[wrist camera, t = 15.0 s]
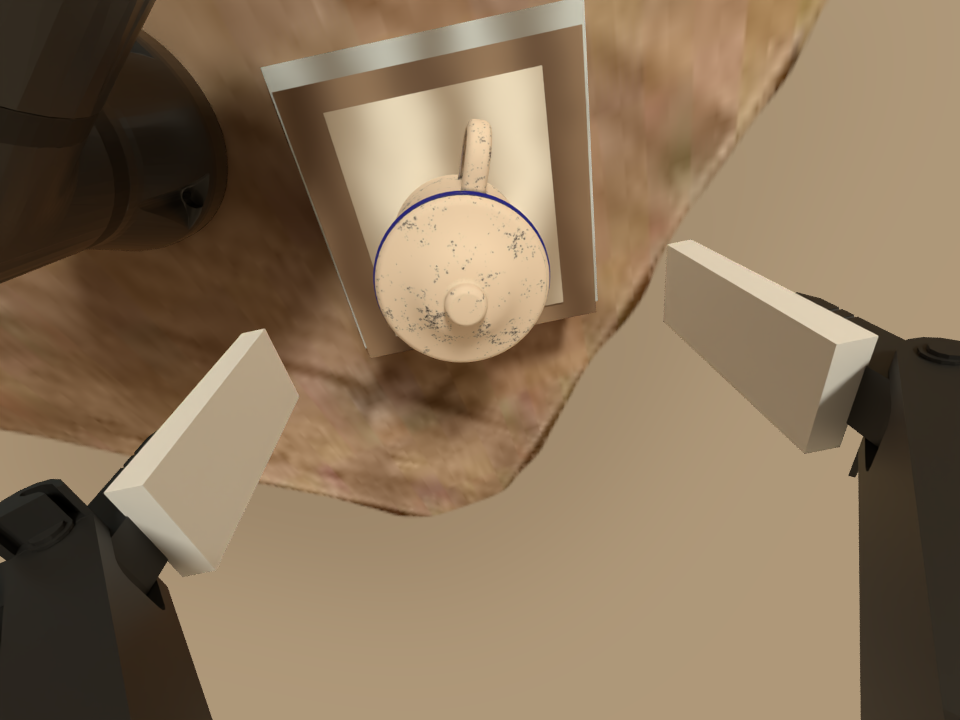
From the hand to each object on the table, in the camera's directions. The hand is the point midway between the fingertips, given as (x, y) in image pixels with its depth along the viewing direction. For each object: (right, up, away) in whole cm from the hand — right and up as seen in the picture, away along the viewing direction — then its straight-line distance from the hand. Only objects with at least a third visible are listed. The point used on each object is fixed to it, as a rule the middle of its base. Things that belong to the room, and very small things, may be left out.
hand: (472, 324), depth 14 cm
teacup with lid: (-1, +8, +15) cm, 17 cm away
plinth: (-2, +12, +20) cm, 24 cm away
